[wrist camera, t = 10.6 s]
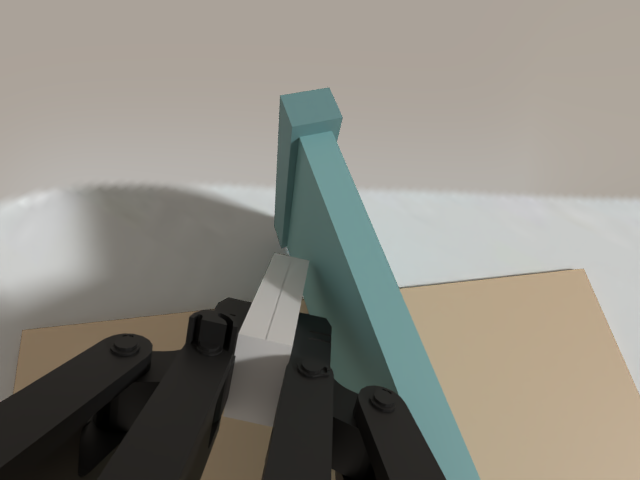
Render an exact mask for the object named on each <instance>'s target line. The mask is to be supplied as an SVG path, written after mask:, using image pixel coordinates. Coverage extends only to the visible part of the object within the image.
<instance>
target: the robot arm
mask: <svg viewBox="0 0 640 480" xmlns="http://www.w3.org/2000/svg"><path fill="white" fill-rule="evenodd" d="M308 265H309V260H305V259H300V258H296V257H291V256H287V255H282V254H278V253H274V255H273V257H272V260H271V262H270V264H269V266H268V269H267V271H266V273H265V275H264V277H263V280H262V282H261V284H260V286H259V289H258V291H257V293H256V295H255V298H254V300H253V302H252V303H251V302H246V301H242V300H237V299H233V298H227V299H225V300H223V301H221V302H219V303H218V305H217V306H216V308H215V310H201V311H198V312H195V313H193V314H192V315H191V316H190V317H189V322H188V329H187V336H186V343H185V345H184V346H183V348H182V349H180V350H175V351H152V348H153V345H152V343H151V342H150V340H149V339H147V338H145V337H143V336H141V335H137V334H130V333H129V334H128V333H123V334H117V335H112V336H110V337H108V338H105V339H103V340H102V341H100V342H98V343H97V344H95V345H93V346H92V347H90V348H88V349H87V350H85V351H84V352H82V353H80V354H79V355H77V356H75V357H74V358H72V359H70V360H69V361H67V362H66V363H64V364H62V365H61V366H59V367H57V368H56V369H54V370H52V371H51V372H49V373H48V374H46V375H44V376H43V377H41V378H39V379H38V380H36V381H34V382H33V383H31V384H30V385H28V386H26V387H25V388H23V389H21V390H20V391H18V392H16V393H15V394H13V395H12V396H10V397H8V398H7V399H5V400H3V401H2V402H0V480H200V479H201V477H202V474H203V471H204V468H205V466H206V463H207V460H208V458H209V455H210V452H211V450H212V447H213V444H214V442H215V439H216V436H217V433H218V431H219V426H220V421H221V415H222V413H223V410H224V414H223V416H224V417H228V418H233V419H238V420H242V421H247V422H251V423H256V424H261V425H265V426H270V427H273V428H272V432H271V437H270V441H269V445H268V450H267V454H266V458H265V465H264V469H263V474H262V479H261V480H331V471H332V469H333V470H335V480H446V478H445V476H444V474H443V472H442V470H441V468H440V467H439V465H438V463H437V461H436V459H435V457H434V455H433V453H432V452H431V450H430V448H429V446H428V444H427V442H426V440H425V438H424V437H423V435H422V433H421V431H420V429H419V427H418V425H417V423H416V422H415V420H414V418H413V416H412V414H411V412H410V410H409V409H408V407H407V405H406V403H405V402H404V400H403V399H402V398H401V397H400V396H399V395H398V394H396V393H395V392H394V391H392V390H390V389H387V388H385V387H381V386H376V385H373V386H366V387H364V388H362V389H361V390H360V392H359V393H355V392H353V391H351V390H349V389H347V388H345V387H343V386H342V385H341V384H339V383H338V382H337V381H336V380H335V379H334V374H333V370H332V369H331V367H330V362H331V334H332V326H331V325H330V323H329V322H328V320H327V319H326V318H323V317H319V316H314V315H310V314H305V313H300V312H299V311H300V306H301V301H302V296H303V291H304V285H305V280H306V275H307V270H308ZM224 407H225V408H224Z"/></svg>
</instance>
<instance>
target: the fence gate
mask: <svg viewBox="0 0 640 480" xmlns="http://www.w3.org/2000/svg"><path fill="white" fill-rule="evenodd" d="M341 122H342V115H341V113H340V111H339V108H338V106H337V104H336V102H335V99H334V97H333V95H332V93H331V91H330V88H324V89H317V90H311V91H305V92H299V93H293V94H287V95H281V96H280V111H279V132H278V134H279V135H278V154H277V176H276V197H275V219H274V226H275V230H276V233H277V236H278V239H279V242H280V245H281V248H284V247H287V249H288V252H289V255H290V256H291V257H296V258H300V259H305V260H309V265H308V270H307V275H306V280H305V285H304V291H303V297H304V300H305V303H306V306H307V309H308V312H309V314H310V315H314V316H319V317H323V318H326V319H327V320H328V322H329V323H330V325H331V326H332V334H331V362H330V367H331V369H332V370H333V374H334V379H335V380H336V381H337V382H338V383H339V384H341V385H342V386H343V387H345V388H347V389H349V390H351V391H353V392H355V393H359V392H360V390H361V389H362V388H364V387H366V386H373V385H376V386H381V387H385V388H387V389H390V390H392V391H394V392H395V393H396V394H398V395H399V396H400V397H401V398H402V399H403V400H404V402H405V403H406V405H407V407H408V409H409V410H410V412H411V414H412V416H413V418H414V420H415V422H416V423H417V425H418V427H419V429H420V431H421V433H422V435H423V437H424V438H425V440H426V442H427V444H428V446H429V448H430V450H431V452H432V453H433V455H434V457H435V459H436V461H437V463H438V465H439V467H440V468H441V470H442V472H443V474H444V476H445V478H446V480H481V479H480V477H479V475H478V472H477V470H476V468H475V465H474V463H473V461H472V458H471V456H470V454H469V451H468V449H467V446H466V444H465V442H464V439H463V437H462V435H461V432H460V430H459V428H458V425H457V423H456V421H455V418H454V416H453V414H452V411H451V409H450V407H449V404H448V402H447V400H446V397H445V395H444V393H443V390H442V388H441V385H440V383H439V381H438V378H437V376H436V374H435V371H434V369H433V367H432V364H431V362H430V360H429V357H428V355H427V353H426V350H425V348H424V346H423V343H422V341H421V339H420V336H419V334H418V332H417V329H416V327H415V325H414V322H413V320H412V317H411V315H410V313H409V310H408V308H407V306H406V303H405V301H404V299H403V296H402V294H401V292H400V289H399V287H398V285H397V282H396V280H395V278H394V275H393V273H392V271H391V268H390V266H389V264H388V261H387V259H386V257H385V254H384V252H383V249H382V247H381V245H380V242H379V240H378V238H377V235H376V233H375V231H374V228H373V226H372V224H371V221H370V219H369V217H368V214H367V212H366V210H365V207H364V205H363V203H362V200H361V198H360V196H359V193H358V191H357V188H356V186H355V184H354V181H353V179H352V177H351V175H350V172H349V170H348V167H347V165H346V163H345V160H344V158H343V156H342V153H341V151H340V149H339V146H338V144H337V139H338V135H339V130H340V127H341Z"/></svg>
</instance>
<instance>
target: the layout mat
mask: <svg viewBox="0 0 640 480" xmlns="http://www.w3.org/2000/svg"><path fill="white" fill-rule="evenodd" d="M400 292H401V294H402V296H403V299H404V301H405V303H406V306H407V308H408V310H409V313H410V315H411V317H412V320H413V322H414V325H415V327H416V329H417V332H418V334H419V336H420V339H421V341H422V343H423V346H424V348H425V350H426V353H427V355H428V357H429V360H430V362H431V364H432V367H433V369H434V371H435V374H436V376H437V378H438V381H439V383H440V385H441V388H442V390H443V393H444V395H445V397H446V400H447V402H448V404H449V407H450V409H451V411H452V414H453V416H454V418H455V421H456V423H457V425H458V428H459V430H460V432H461V435H462V437H463V439H464V442H465V444H466V446H467V449H468V451H469V454H470V456H471V458H472V461H473V463H474V465H475V468H476V470H477V472H478V475H479V477H480V479H481V480H640V395H639V393H638V391H637V388H636V386H635V384H634V381H633V379H632V377H631V375H630V372H629V370H628V368H627V366H626V363H625V361H624V359H623V357H622V354H621V352H620V350H619V347H618V345H617V343H616V341H615V338H614V336H613V334H612V332H611V329H610V327H609V325H608V323H607V320H606V318H605V316H604V313H603V311H602V309H601V307H600V304H599V302H598V300H597V298H596V295H595V293H594V291H593V289H592V286H591V284H590V282H589V279H588V277H587V275H586V273H585V270H584V269H575V270H566V271H557V272H548V273H539V274H529V275H520V276H511V277H502V278H493V279H484V280H475V281H466V282H457V283H447V284H438V285H429V286H420V287H411V288H402V289H400ZM210 310H215V309H210ZM195 312H198V311H192V312H183V313H174V314H165V315H156V316H147V317H137V318H128V319H119V320H110V321H101V322H92V323H83V324H74V325H64V326H55V327H46V328H37V329H28V330H22V336H21V343H20V350H19V357H18V364H17V371H16V378H15V385H14V392H13V394H15V393H16V392H18V391H20V390H21V389H23V388H25V387H26V386H28V385H30V384H31V383H33V382H34V381H36V380H38V379H39V378H41V377H43V376H44V375H46V374H48V373H49V372H51V371H52V370H54V369H56V368H57V367H59V366H61V365H62V364H64V363H66V362H67V361H69V360H70V359H72V358H74V357H75V356H77V355H79V354H80V353H82V352H84V351H85V350H87V349H88V348H90V347H92V346H93V345H95V344H97V343H98V342H100V341H102V340H103V339H105V338H108V337H110V336H112V335H117V334H123V333H128V334H129V333H130V334H137V335H141V336H143V337H145V338H147V339H149V340H150V342H151V343H152V345H153V348H152V351H175V350H180V349H182V348H183V346H184V345H185V343H186V336H187V329H188V322H189V317H190V316H191V315H192V314H193V313H195ZM299 312H300V313H305V314H309V312H308V309H307V306H306V303H305V300H304V299H302V301H301V306H300V311H299ZM224 408H225V407H224ZM223 414H224V410H223V413H222V415H221V421H220V426H219V431H218V433H217V436H216V439H215V442H214V444H213V447H212V450H211V452H210V455H209V458H208V460H207V463H206V466H205V468H204V471H203V474H202V477H201V479H200V480H261V479H262V474H263V469H264V465H265V458H266V454H267V450H268V445H269V441H270V437H271V432H272V428H273V427H270V426H265V425H261V424H256V423H251V422H247V421H242V420H238V419H233V418H228V417H224V416H223ZM331 480H335V470H333V469H332V471H331Z"/></svg>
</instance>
